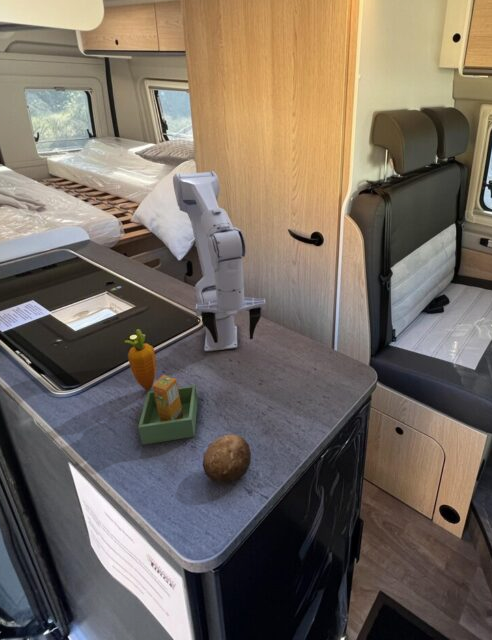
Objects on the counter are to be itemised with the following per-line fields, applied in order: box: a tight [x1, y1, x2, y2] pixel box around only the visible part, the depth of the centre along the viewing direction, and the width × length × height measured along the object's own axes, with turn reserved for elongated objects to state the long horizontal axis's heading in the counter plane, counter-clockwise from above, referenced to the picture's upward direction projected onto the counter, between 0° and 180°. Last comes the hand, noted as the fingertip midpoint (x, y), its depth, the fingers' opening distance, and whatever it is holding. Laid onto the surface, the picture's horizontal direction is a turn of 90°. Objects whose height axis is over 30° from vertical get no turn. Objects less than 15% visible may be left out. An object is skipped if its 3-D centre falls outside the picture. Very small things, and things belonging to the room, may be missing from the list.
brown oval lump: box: [202, 433, 252, 484], centre depth 68 cm, size 8×8×6 cm
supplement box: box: [152, 374, 183, 422], centre depth 75 cm, size 3×3×10 cm
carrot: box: [124, 328, 157, 391], centre depth 81 cm, size 5×5×15 cm
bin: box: [137, 384, 199, 446], centre depth 76 cm, size 9×9×4 cm
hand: (233, 338), depth 87 cm, fingers open, 7 cm apart
